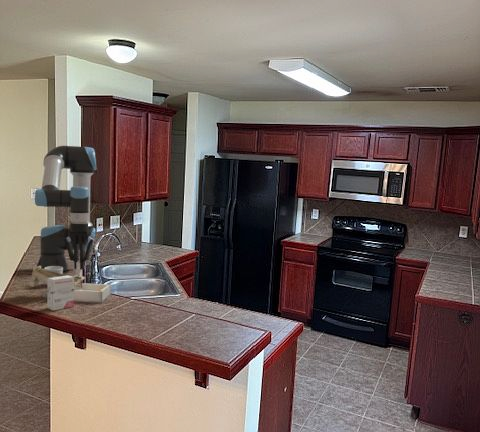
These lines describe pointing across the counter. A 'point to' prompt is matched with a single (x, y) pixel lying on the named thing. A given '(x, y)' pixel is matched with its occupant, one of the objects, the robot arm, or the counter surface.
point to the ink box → (60, 292)
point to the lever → (49, 276)
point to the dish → (92, 293)
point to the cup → (54, 270)
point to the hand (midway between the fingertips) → (79, 276)
